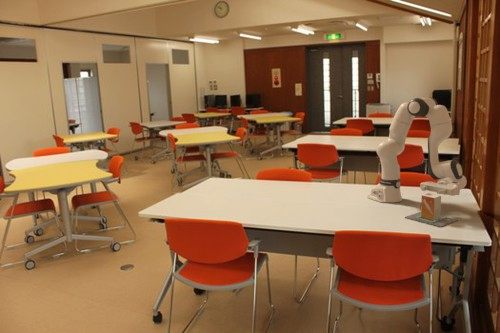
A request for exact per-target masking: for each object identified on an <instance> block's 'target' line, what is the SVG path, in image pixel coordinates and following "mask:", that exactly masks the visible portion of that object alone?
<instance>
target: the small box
mask: <svg viewBox="0 0 500 333" xmlns="http://www.w3.org/2000/svg"><path fill="white" fill-rule="evenodd" d="M420 205H421V206H420V212H421V218H425V219H429V220H432V221H435V220H437V219H440V216H442V215H441V210H442V208H441V207H442V195H440V194H433V193H423V194H422V195H421V204H420Z"/></svg>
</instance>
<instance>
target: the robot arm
mask: <svg viewBox="0 0 500 333" xmlns="http://www.w3.org/2000/svg"><path fill="white" fill-rule="evenodd" d="M417 117H419V118H425V117H426V118H428V121H429V125H430V135H429V136H428V138H427V152H428V155H427V156H428V169H427V172H428V175H429V177H430V178H431V179H432V180H434V181H424V182H421V183H420V184H419V185H420V186H419V187H420V190H421V191H423V192H425V191H428V192H431V193H432V192H433V193H436V195H443V196H445V195H447V196H451V197H452V196H459V195H460V193H461V192H460V191H461V190H462V189H464V188H465V187H466V185H467V181H468V180H467V178H466V176H464V170H463V169H464V168H463V166H462V164H461V163H460V161H458V160H457V159H451V160H445V161H439V147H440V145H441V143H443V142H444V141H445V140H447V139H448V138H449V137H450V136H451V135H452V133H453V125H452V121H451V117H450V113H449V111H448V109H447V107H446V106H445V105H443V104H442V105H441V104H438V102H437V100H436V99H435V98H433V97H429V96H428V97H427V96H423V97H422V96H421V97H415V98H413V99H411V100H410V101H409V102H406V101H405V102H402V103H401V104H400V105H399V107H398V109H397V111H396V112H395V114H394V116H393V119H392V121H391V123H390V126H389V128H388V130H389V135H388V138H387V140H384V141H382V142H380V143H379V145H377V147H376V149H375V150H376V154H377V156H378V157H379V160H380V165H381V177H380V178H378V180H377V181H378V184H376V185H374V186H373V187H371V191H370V194H368V195H367V196H366V198H367V199H370V200H373V201H375V202H378V203H399V202H402V201H403V198H402V197H403V196H402V193H401V177H400V176H401V167H400V164H399V162H398V157H397V156H399V155H401V154H402V153H403V152H404V150H405V149H406V147H405V146H406V139H407V136H408V133H409V131H410V129H411V126H412V123H413V121H414V118H417ZM435 181H437V182H435Z"/></svg>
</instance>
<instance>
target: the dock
mask: <svg viewBox="0 0 500 333" xmlns="http://www.w3.org/2000/svg"><path fill="white" fill-rule="evenodd" d="M404 219H407V220H410V221H414V222H418V223H422V224H426V225H429V226H434V227H436V226H437V227H436V228H440V227H441V228H444V227H446V226H449V225H451V224H454V223H456V222H459V219H455V218H452V217H449V216H443V215H440V219H437V220H435V221H432V220H429V219H425V218H421V211H419V212H415V213H412V214H410V215H407V216H405V217H404Z"/></svg>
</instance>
